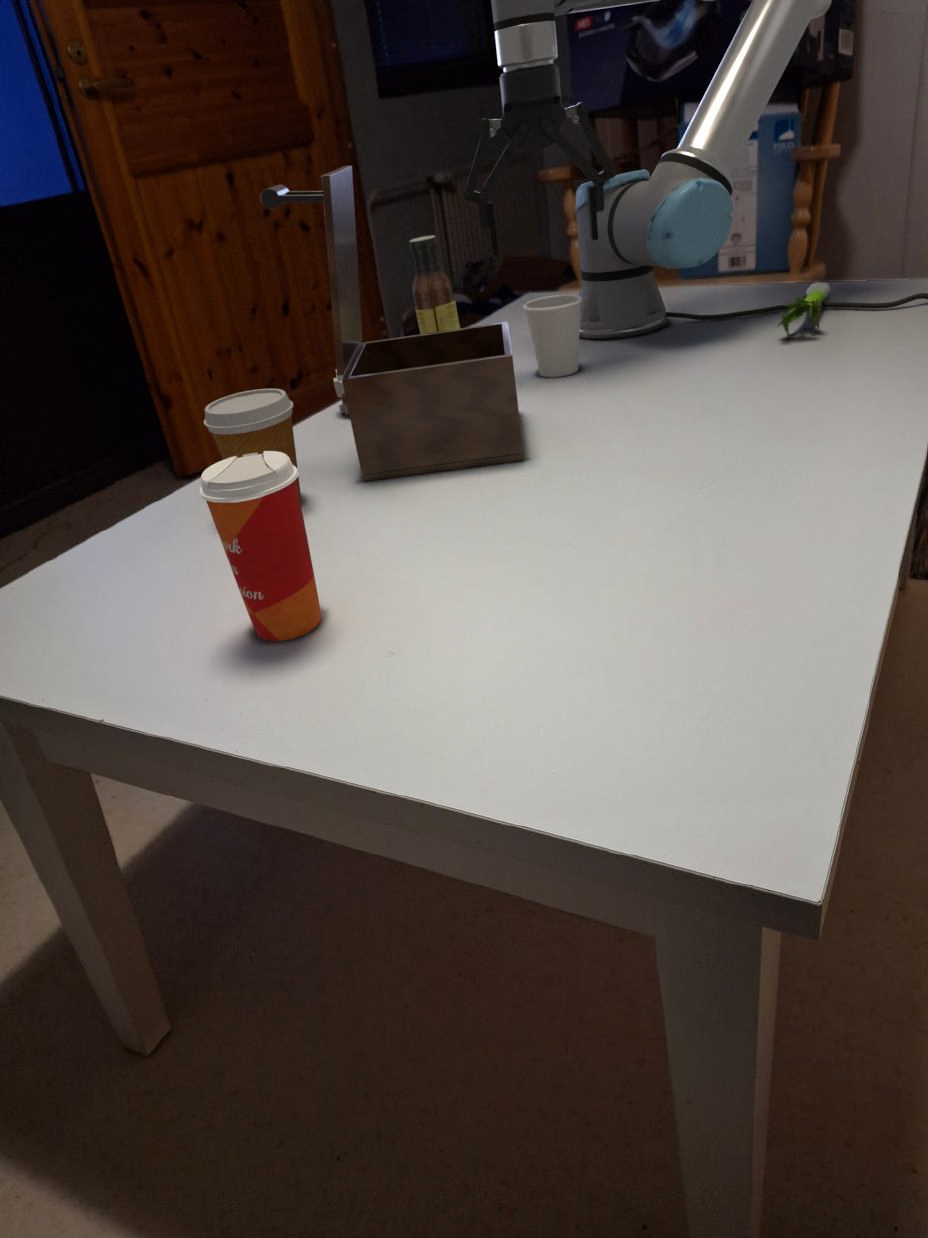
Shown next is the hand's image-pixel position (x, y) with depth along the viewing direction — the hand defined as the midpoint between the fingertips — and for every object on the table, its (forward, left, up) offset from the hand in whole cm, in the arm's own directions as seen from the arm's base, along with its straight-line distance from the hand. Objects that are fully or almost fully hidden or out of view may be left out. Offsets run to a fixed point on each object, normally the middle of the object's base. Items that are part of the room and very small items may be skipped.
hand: (544, 246), depth 123 cm
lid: (+23, +27, +4) cm, 36 cm away
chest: (+16, +27, -17) cm, 35 cm away
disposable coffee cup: (+35, +40, -18) cm, 55 cm away
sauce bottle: (+17, -9, -18) cm, 26 cm away
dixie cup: (0, 0, -18) cm, 18 cm away
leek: (-39, -11, -18) cm, 44 cm away
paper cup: (+28, +68, -18) cm, 75 cm away
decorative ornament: (+28, +6, -18) cm, 33 cm away
